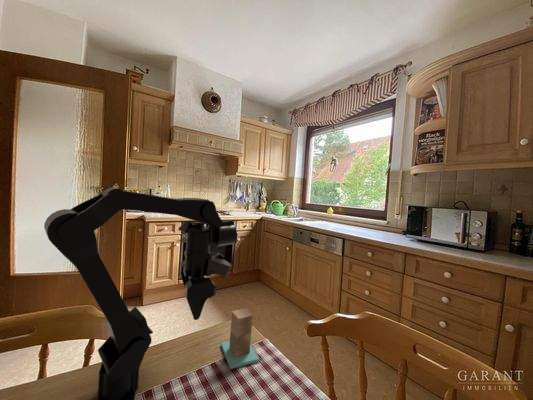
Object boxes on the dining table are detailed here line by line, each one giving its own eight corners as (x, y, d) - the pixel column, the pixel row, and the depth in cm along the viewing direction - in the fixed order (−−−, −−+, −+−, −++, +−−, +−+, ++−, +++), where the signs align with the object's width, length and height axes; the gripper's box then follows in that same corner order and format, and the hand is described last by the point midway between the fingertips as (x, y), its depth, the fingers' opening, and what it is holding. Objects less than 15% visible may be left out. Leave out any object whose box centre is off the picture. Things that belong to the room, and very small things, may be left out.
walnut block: (235, 357, 59) (238, 318, 58) (229, 347, 62) (232, 311, 62) (249, 352, 61) (252, 315, 61) (242, 343, 64) (245, 308, 64)
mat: (230, 369, 56) (230, 365, 56) (221, 345, 64) (221, 342, 64) (259, 361, 59) (259, 358, 59) (247, 340, 67) (247, 337, 67)
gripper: (240, 257, 53) (235, 324, 54) (220, 239, 70) (217, 290, 71) (189, 260, 49) (184, 333, 49) (181, 240, 65) (178, 295, 66)
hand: (193, 309), depth 59 cm, fingers open, 9 cm apart
